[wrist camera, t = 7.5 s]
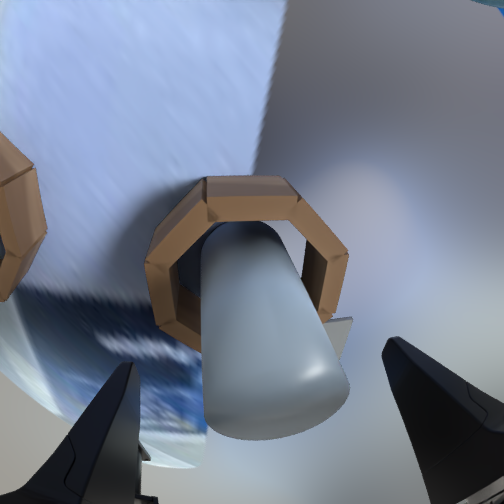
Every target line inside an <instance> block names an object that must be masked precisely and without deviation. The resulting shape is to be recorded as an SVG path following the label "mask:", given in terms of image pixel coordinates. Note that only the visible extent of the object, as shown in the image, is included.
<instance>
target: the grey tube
mask: <svg viewBox="0 0 504 504" xmlns="http://www.w3.org/2000/svg"><path fill="white" fill-rule="evenodd" d="M201 352H202V382H203V403H204V418H205V421H206V423H207V424H208V425H209V426H210V427H211V428H212V429H213V430H214V431H216V432H218V433H220V434H222V435H224V436H227V437H231V438H235V439H241V440H270V439H277V438H282V437H287V436H291V435H294V434H297V433H300V432H303V431H305V430H308V429H310V428H312V427H314V426H316V425H318V424H320V423H322V422H323V421H325V420H327V419H328V418H329V417H331V416H332V415H333V414H334V413H336V412H337V410H339V409H340V408H341V406H342V405H343V404H344V403H345V401H346V399H347V397H348V395H349V391H350V384H349V382H348V379H347V377H346V375H345V373H344V370H343V368H342V366H341V364H340V361H339V359H338V357H337V355H336V353H335V350H334V348H333V346H332V344H331V342H330V340H329V337H328V335H327V333H326V331H325V329H324V327H323V325H322V322H321V320H320V318H319V316H318V314H317V312H316V310H315V308H314V306H313V303H312V301H311V299H310V297H309V295H308V293H307V291H306V289H305V287H304V285H303V283H302V281H301V279H300V277H299V274H298V272H297V271H296V268H295V266H294V264H293V263H292V260H291V258H290V256H289V254H288V252H287V250H286V248H285V246H284V244H283V242H282V240H281V238H280V237H279V235H278V233H277V232H276V231H275V230H274V229H273V228H271V227H270V226H269V225H267V224H265V223H263V222H261V221H230V222H227V223H225V224H222V225H221V226H219V227H218V228H216V229H215V230H214V231H213V232H212V233H211V234H210V235H209V236H208V238H207V239H206V241H205V243H204V245H203V248H202V251H201Z"/></svg>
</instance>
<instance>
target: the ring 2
mask: <svg viewBox="0 0 504 504" xmlns="http://www.w3.org/2000/svg"><path fill="white" fill-rule="evenodd" d="M263 220H264V221H265V220H289V221H290V222H291V223H292V224H293V225H294V226H295V227H296V228H297V229H298V231H299V232H300V233H301V234H302V235H303V236H304V237H305V238H306V239H307V241H306V248H305V256H304V263H303V270H302V277H301V278H300V279H301V281H302V283H303V285H304V287H305V289H306V291H307V293H308V295H309V297H310V299H311V301H312V303H313V306H314V308H315V310H316V312H317V314H318V316H319V318H320V320H321V322H322V324H324V323H325V322H326V321H328V320H329V319H330V318H331V317H333V316H332V313H335V312H336V308H337V305H338V300H339V296H340V293H341V288H342V284H343V280H344V276H345V271H346V267H347V262H348V258H349V254H348V253H347V251H348V250H347V248H346V247H345V246H344V245H343V244H342V242H341V241H340V240H339V239H338V238H337V237H336V235H335V234H334V233H333V232H332V231H331V229H330V228H329V227H328V226H327V225H326V224H325V223H324V222H323V220H322V219H321V218H320V217H319V216H318V214H316V212H315V211H314V210H313V209H312V208H311V207H310V205H309V204H308V203H307V202H306V201H305V200H304V199H303V198H302V197H301V195H299V193H298V192H297V191H296V190H295V189H294V188H293V187H292V186H291V185H290V183H289V182H288V181H287V180H286V179H285V178H283V179H282V178H281V177H280V176H207V182H206V181H205V180H204V179H201V180H200V181H199V182H198V183H197V184H196V185H195V186H194V188H193V189H192V190H191V191H190V192H189V193H188V194H187V195H186V196H185V197H184V198H183V199H182V200H181V201H180V202H179V203H178V204H177V205H176V206H175V208H174V209H173V210H172V211H171V212H170V213H169V214H168V215H167V216H166V217H165V218H164V220H163V221H162V222H161V223H160V224H159V225H158V226H157V227H156V229H155V232H154V234H153V237H152V240H151V243H150V246H149V249H148V252H147V255H146V258H145V262H144V267H145V273H146V278H147V283H148V289H149V294H150V298H151V303H152V308H153V312H154V317H155V321H156V325H159V329H161V330H162V331H164V332H165V333H167V334H169V335H170V336H172V337H174V338H175V339H177V340H179V341H180V342H182V343H184V344H186V345H187V346H189V347H191V348H193V349H194V350H196V351H198V352H200V353H201V354H202V352H201V298H200V297H198V296H197V295H195V294H194V293H193V292H191V291H190V290H188V289H187V288H186V287H184V286H183V285H181V284H180V282H179V274H178V265H177V260H178V259H179V258H180V257H181V256H182V255H183V254H184V253H185V252H186V251H187V250H188V249H189V248H190V247H191V246H192V245H193V244H194V243H195V242H196V241H197V240H198V239H199V238H200V237H201V236H202V235H203V234H204V233H205V232H206V231H207V230H208V229H209V228H210V227H211V226H212V225H213V224H214V223H215V222H230V221H263Z"/></svg>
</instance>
